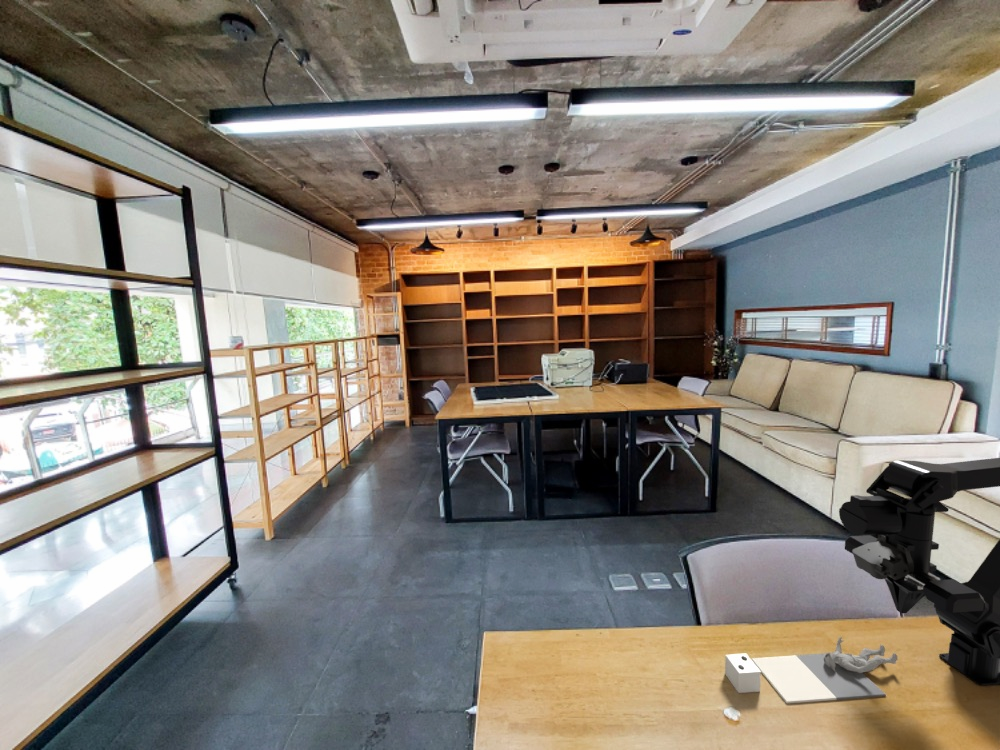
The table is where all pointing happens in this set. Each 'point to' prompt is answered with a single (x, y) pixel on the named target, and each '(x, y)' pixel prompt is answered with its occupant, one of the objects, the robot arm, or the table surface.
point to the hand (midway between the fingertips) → (901, 611)
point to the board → (814, 679)
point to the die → (742, 673)
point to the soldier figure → (858, 659)
